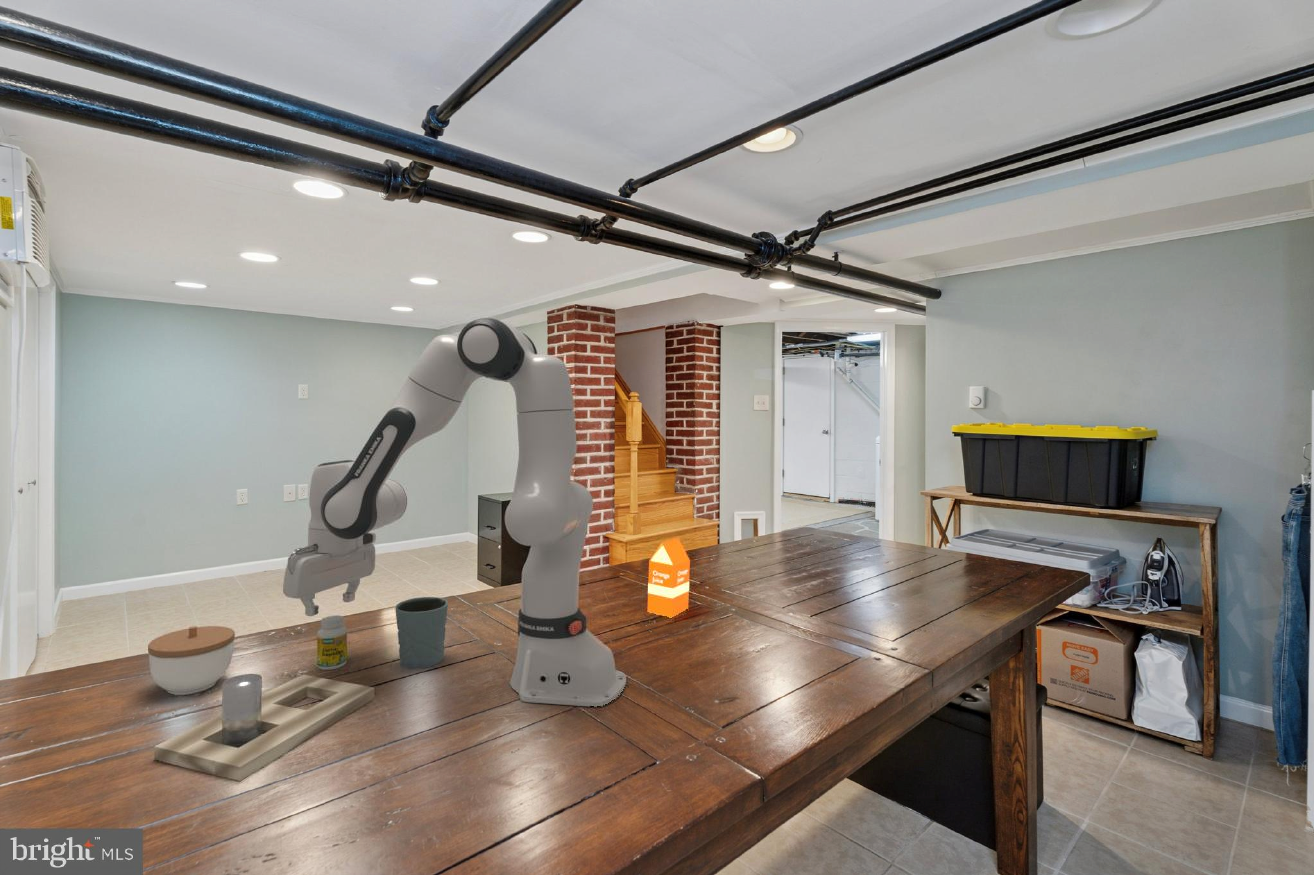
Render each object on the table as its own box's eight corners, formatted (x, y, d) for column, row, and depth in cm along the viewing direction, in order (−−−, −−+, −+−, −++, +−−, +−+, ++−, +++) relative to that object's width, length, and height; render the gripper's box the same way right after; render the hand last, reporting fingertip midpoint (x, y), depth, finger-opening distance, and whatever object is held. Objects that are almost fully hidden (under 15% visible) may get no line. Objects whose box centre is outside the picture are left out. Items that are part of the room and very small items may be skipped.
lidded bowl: (250, 678, 115) (250, 621, 114) (179, 708, 103) (179, 644, 102) (204, 667, 119) (204, 612, 119) (130, 694, 107) (130, 633, 107)
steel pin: (269, 739, 94) (269, 676, 94) (239, 756, 89) (239, 690, 89) (244, 733, 95) (244, 671, 95) (213, 750, 91) (213, 685, 90)
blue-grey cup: (456, 657, 128) (458, 601, 128) (419, 674, 119) (421, 614, 119) (421, 647, 132) (422, 593, 132) (383, 664, 123) (384, 606, 123)
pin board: (374, 698, 109) (374, 687, 109) (239, 781, 84) (239, 766, 83) (302, 685, 113) (303, 674, 113) (154, 759, 88) (154, 746, 88)
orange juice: (688, 612, 163) (691, 539, 162) (671, 621, 155) (674, 544, 155) (664, 606, 167) (666, 535, 166) (646, 615, 159) (649, 540, 159)
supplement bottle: (345, 657, 126) (346, 612, 125) (348, 667, 121) (349, 620, 121) (315, 662, 123) (316, 616, 122) (317, 672, 118) (318, 624, 118)
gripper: (302, 552, 110) (300, 626, 111) (381, 533, 130) (379, 596, 131) (275, 548, 112) (273, 621, 113) (357, 530, 132) (355, 592, 132)
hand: (330, 607), depth 122 cm, fingers open, 8 cm apart
